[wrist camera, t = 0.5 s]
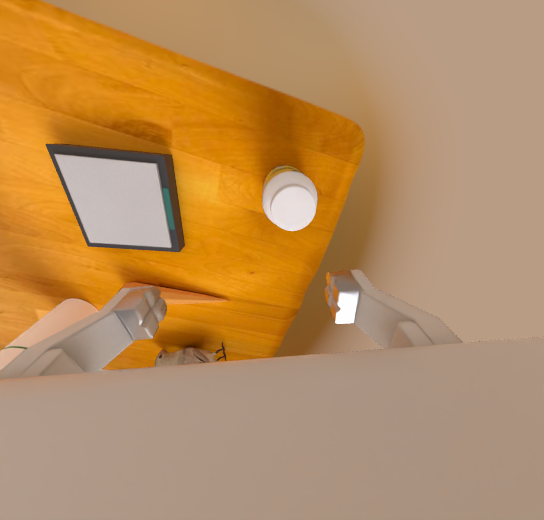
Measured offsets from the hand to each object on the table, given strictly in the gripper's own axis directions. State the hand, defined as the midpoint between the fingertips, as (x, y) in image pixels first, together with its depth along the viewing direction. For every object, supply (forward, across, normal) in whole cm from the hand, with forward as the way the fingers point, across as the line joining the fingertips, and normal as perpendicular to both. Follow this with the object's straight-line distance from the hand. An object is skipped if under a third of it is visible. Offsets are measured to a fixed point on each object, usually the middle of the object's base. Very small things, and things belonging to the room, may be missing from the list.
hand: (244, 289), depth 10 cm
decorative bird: (+24, +19, +36) cm, 47 cm away
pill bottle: (+24, -4, 0) cm, 24 cm away
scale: (+24, +19, 0) cm, 31 cm away
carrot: (+24, +17, +19) cm, 35 cm away
